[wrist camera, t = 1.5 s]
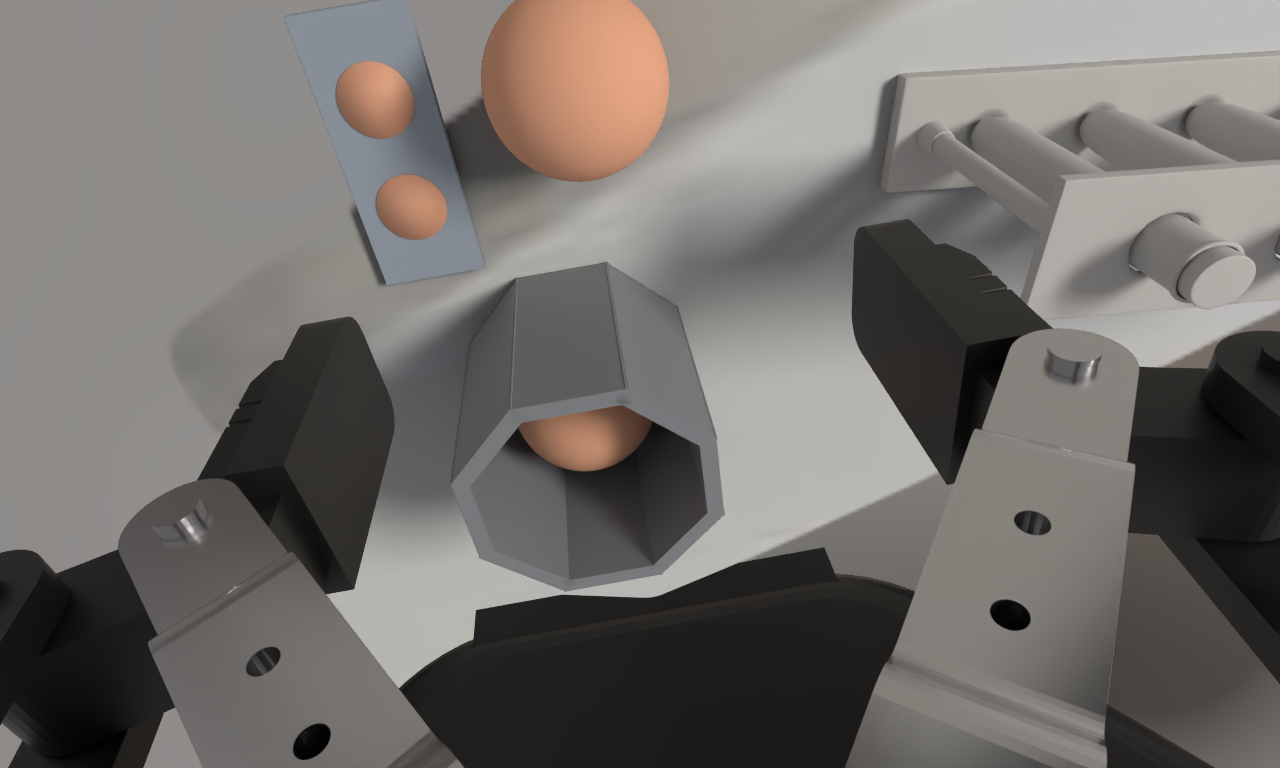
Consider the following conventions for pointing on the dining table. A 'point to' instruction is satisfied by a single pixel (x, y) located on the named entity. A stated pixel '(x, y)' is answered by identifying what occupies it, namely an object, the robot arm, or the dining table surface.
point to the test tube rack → (1112, 173)
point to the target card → (388, 136)
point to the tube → (572, 383)
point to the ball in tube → (587, 437)
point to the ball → (575, 85)
